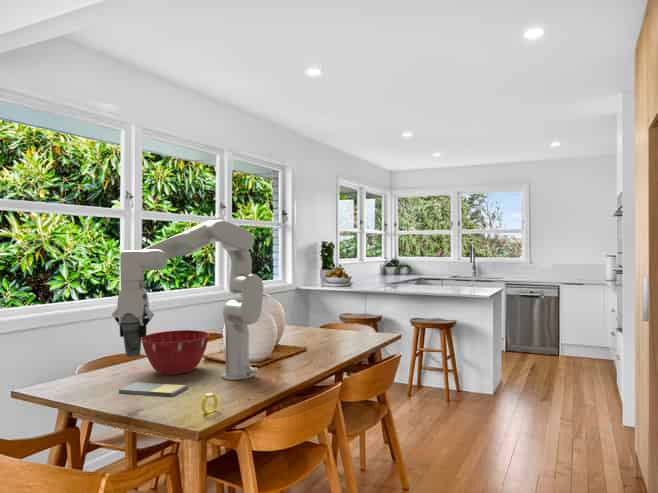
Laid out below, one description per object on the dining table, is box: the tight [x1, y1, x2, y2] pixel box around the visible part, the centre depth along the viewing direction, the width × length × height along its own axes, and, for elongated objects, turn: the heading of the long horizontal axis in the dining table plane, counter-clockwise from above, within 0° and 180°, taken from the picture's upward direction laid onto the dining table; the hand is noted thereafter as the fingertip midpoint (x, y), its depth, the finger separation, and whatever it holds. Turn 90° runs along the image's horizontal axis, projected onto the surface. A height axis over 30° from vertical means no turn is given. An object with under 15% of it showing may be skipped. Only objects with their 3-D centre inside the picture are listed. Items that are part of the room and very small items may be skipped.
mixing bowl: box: [141, 329, 210, 376], centre depth 213 cm, size 28×28×16 cm
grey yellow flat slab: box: [118, 382, 188, 397], centre depth 183 cm, size 22×10×1 cm, turn 77°
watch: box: [201, 392, 219, 415], centre depth 158 cm, size 6×3×6 cm, turn 149°
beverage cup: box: [121, 313, 142, 358], centre depth 172 cm, size 7×7×20 cm
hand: (133, 336), depth 173 cm, fingers closed on beverage cup, 6 cm apart
